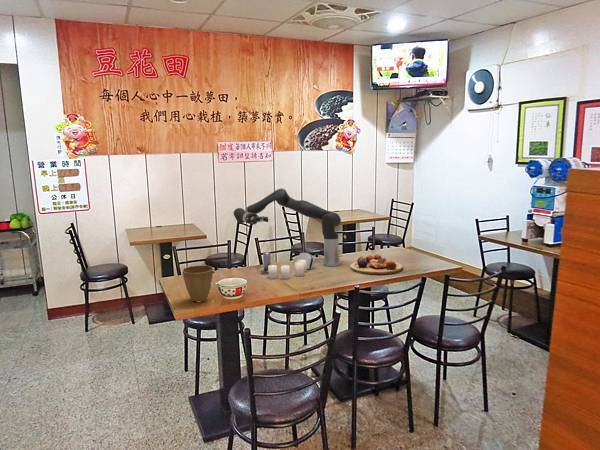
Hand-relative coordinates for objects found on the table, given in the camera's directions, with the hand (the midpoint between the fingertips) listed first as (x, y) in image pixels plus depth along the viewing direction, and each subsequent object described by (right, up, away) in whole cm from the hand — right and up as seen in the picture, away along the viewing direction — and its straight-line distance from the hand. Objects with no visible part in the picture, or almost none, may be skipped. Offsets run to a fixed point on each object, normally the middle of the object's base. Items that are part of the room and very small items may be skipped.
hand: (261, 221), depth 272 cm
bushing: (+4, -31, -7) cm, 32 cm away
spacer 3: (+24, -32, -15) cm, 43 cm away
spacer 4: (+26, -31, -7) cm, 41 cm away
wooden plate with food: (+71, -30, -4) cm, 77 cm away
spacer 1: (+8, -33, -18) cm, 39 cm away
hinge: (+27, -29, +4) cm, 40 cm away
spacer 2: (+16, -33, -20) cm, 42 cm away
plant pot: (-26, -40, -55) cm, 73 cm away
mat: (+4, -31, -7) cm, 32 cm away
